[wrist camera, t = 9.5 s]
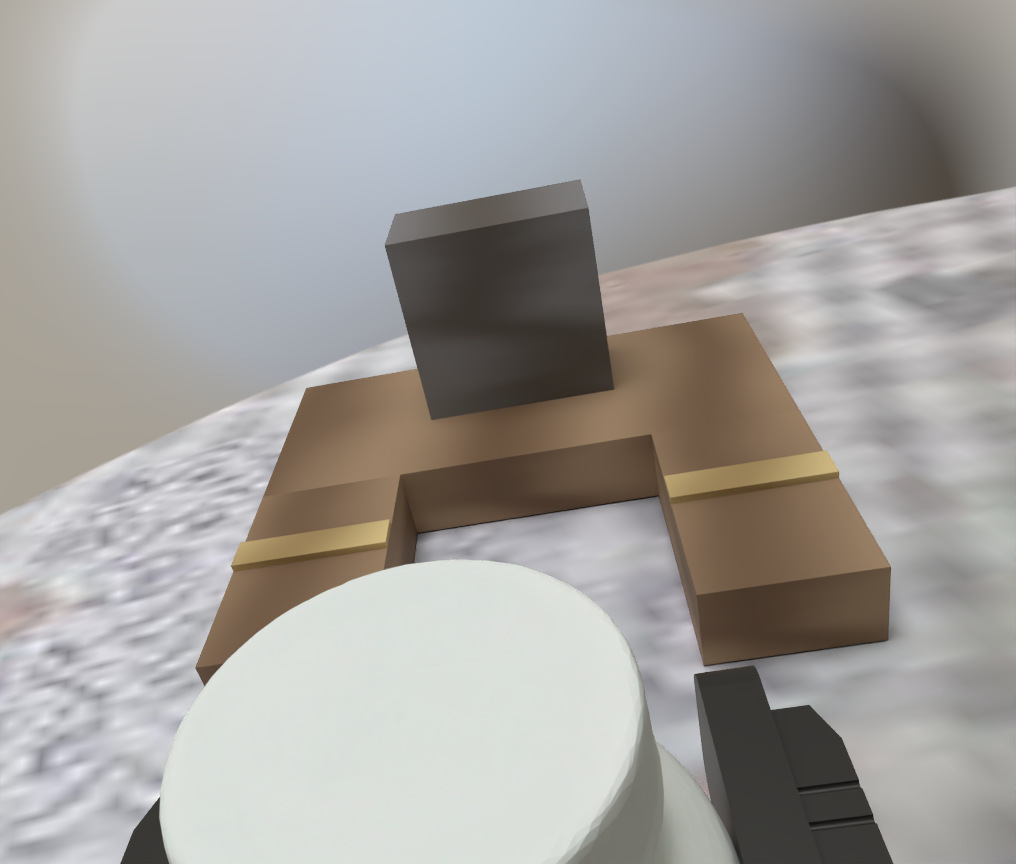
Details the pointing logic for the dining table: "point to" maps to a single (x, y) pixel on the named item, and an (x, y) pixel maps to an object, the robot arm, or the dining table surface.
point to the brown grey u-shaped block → (560, 443)
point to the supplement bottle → (433, 735)
